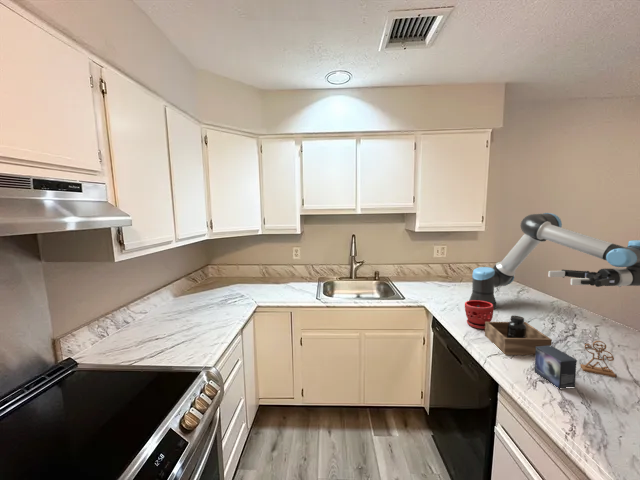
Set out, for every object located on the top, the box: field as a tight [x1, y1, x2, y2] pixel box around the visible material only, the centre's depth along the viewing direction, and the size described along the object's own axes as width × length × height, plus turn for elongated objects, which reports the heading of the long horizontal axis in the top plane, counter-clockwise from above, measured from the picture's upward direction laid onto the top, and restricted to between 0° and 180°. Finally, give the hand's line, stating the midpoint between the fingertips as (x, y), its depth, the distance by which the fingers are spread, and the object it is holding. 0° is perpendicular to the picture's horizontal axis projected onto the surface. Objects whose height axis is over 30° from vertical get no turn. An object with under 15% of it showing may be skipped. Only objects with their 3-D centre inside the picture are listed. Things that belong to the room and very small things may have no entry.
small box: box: [534, 344, 578, 390], centre depth 101 cm, size 11×6×10 cm, turn 5°
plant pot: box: [464, 300, 494, 330], centre depth 148 cm, size 13×13×12 cm
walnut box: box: [484, 321, 553, 356], centre depth 127 cm, size 18×18×7 cm
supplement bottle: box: [507, 315, 526, 338], centre depth 126 cm, size 7×7×12 cm
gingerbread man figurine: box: [579, 340, 617, 378], centre depth 105 cm, size 9×4×12 cm, turn 60°
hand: (559, 277), depth 125 cm, fingers open, 13 cm apart
